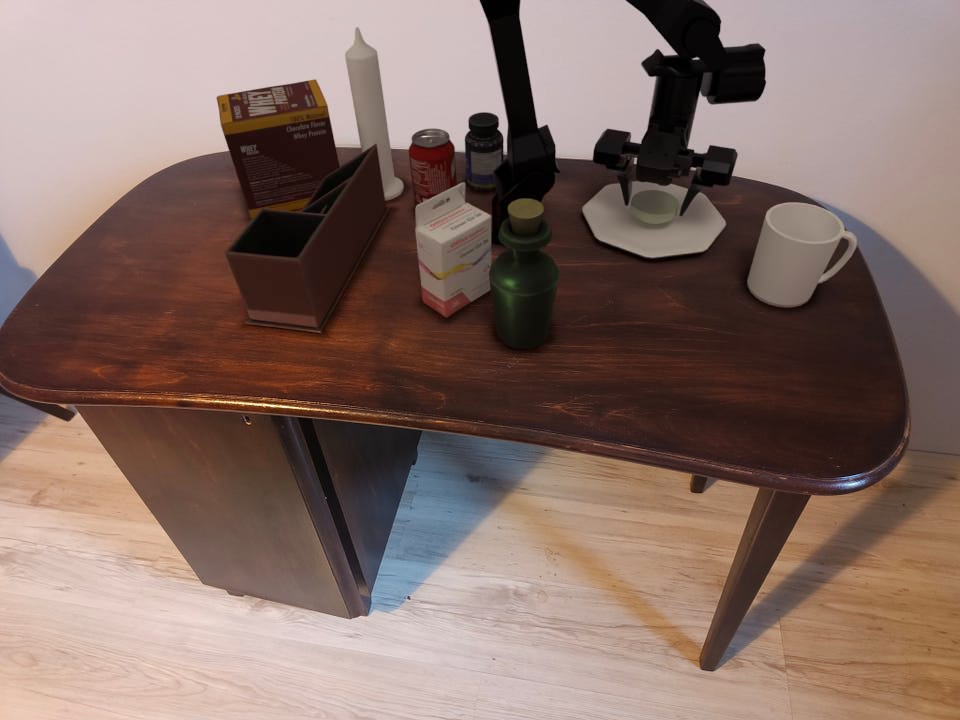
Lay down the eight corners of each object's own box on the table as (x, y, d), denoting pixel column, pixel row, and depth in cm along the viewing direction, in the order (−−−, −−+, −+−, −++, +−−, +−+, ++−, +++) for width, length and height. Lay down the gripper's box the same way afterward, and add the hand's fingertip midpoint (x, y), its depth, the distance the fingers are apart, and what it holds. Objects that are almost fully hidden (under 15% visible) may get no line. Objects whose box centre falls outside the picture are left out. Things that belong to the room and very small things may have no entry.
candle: (401, 201, 102) (379, 36, 84) (357, 202, 102) (326, 37, 84) (405, 178, 107) (385, 17, 89) (364, 179, 107) (335, 19, 89)
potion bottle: (507, 364, 76) (508, 238, 63) (479, 322, 81) (474, 199, 68) (567, 343, 78) (579, 217, 65) (536, 304, 83) (541, 181, 71)
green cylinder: (624, 222, 93) (626, 209, 92) (635, 199, 98) (637, 186, 96) (670, 231, 91) (673, 218, 90) (680, 207, 96) (683, 194, 94)
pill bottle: (472, 172, 108) (469, 108, 100) (507, 175, 107) (507, 111, 99) (462, 190, 104) (459, 126, 96) (499, 194, 103) (498, 129, 95)
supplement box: (347, 199, 103) (328, 104, 92) (250, 219, 100) (218, 123, 88) (336, 169, 110) (316, 77, 99) (245, 187, 106) (214, 94, 95)
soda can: (453, 223, 97) (447, 150, 89) (410, 219, 98) (401, 146, 90) (462, 199, 102) (458, 128, 93) (421, 196, 103) (414, 125, 94)
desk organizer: (245, 325, 82) (217, 254, 74) (328, 203, 102) (313, 137, 94) (322, 335, 81) (301, 263, 72) (391, 209, 100) (381, 142, 92)
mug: (740, 302, 83) (763, 235, 75) (745, 262, 88) (767, 197, 81) (832, 320, 80) (865, 253, 72) (831, 278, 86) (861, 211, 78)
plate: (622, 177, 105) (623, 168, 104) (739, 213, 97) (741, 204, 96) (560, 234, 94) (561, 225, 93) (686, 280, 86) (689, 271, 85)
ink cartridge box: (447, 320, 82) (438, 222, 71) (422, 302, 84) (410, 206, 74) (494, 289, 86) (492, 192, 75) (468, 273, 88) (463, 178, 78)
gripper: (586, 121, 80) (576, 225, 92) (739, 145, 75) (709, 253, 86) (609, 86, 87) (598, 187, 99) (751, 106, 82) (722, 211, 93)
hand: (653, 209), depth 94 cm, fingers open, 8 cm apart
